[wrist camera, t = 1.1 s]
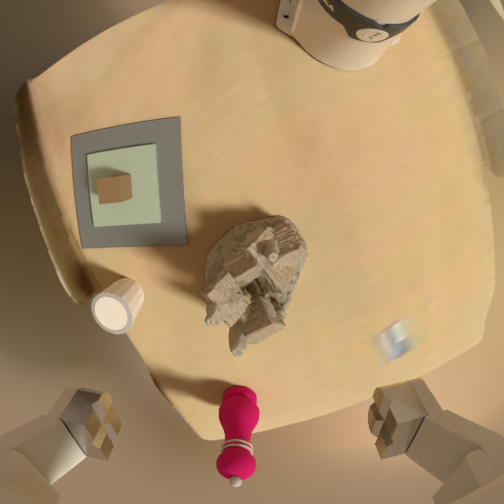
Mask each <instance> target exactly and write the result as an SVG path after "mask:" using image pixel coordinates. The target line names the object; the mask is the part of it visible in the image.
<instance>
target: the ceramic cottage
mask: <svg viewBox="0 0 504 504" xmlns="http://www.w3.org/2000/svg"><path fill="white" fill-rule="evenodd" d="M307 257H308V253H307V249H306V243H305V241H304V240H303V239H302V237H301V236H300V234H299V231H298V230H297V228H296V226H295V225H294V223H293V222H292V221H291V220H289V219H288V218H286V217H283V216H276V217H270V218H265V219H260V220H256V221H255V220H254V221H249V222H245V223H243V224H240V225H237V226H235V227H233V228H232V229H231V230H230V231H229V232H227V234H226V235H225V236H224V237H223V238H221V239H220V240H219V241H218V242H217V243H216V244H215V245H214V247H213V248H212V250H210V252H209V254H208V256H207V258H206V267H205V275H204V277H205V280H206V282H205V284H204V288H203V289H202V290H201V291H199V293H200V294H201V295H202V297H203V298H204V299H205V300H206V301H207V302H208V306H207V308H206V313H207V316H206V318H205V320H204V321H205V322H206V324H207V326H210V325H212V324H213V325H218V324H220V323H221V322H223V321H224V322H225V323H226V324H227V325H228V326H229V327H230V331H229V346H230V350H231V352H232V354H233V355H234V356H237V357H239V356H241V355H242V354H244V353H245V350H246V348H247V343H248V344H249V343H251V344H257V343H259V342H260V341H262V340H264V339H265V338H267V337H268V336H270V335H272V334H274V333H276V332H278V331H280V330H282V329H284V327H285V326H286V325H285V323H284V322H283V321H284V319H285V317H286V313H285V311H286V310H287V308H288V305H289V302H290V300H291V297H292V294H293V291H294V289H295V286H296V285H297V282H298V281H299V276H300V274H301V271H302V268H303V266H304V263H305V261H306V258H307Z"/></svg>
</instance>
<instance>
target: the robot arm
mask: <svg viewBox="0 0 504 504" xmlns="http://www.w3.org/2000/svg"><path fill="white" fill-rule="evenodd" d="M435 1H437V0H280V5H279V10H278V15H277V20H276V26H277V27H278V28H279V29H280V30H281V31H283V32H285V33H286V34H288V35H290V36H292V37H294V38H295V39H296V40H297V41H298V42H299V43H300V45H301V46H302V47H303V48H304V49H305V50H306V51H307V52H308V53H309V54H310V55H312V56H313V57H314V58H316V59H317V60H319V61H321V62H322V63H324V64H327V65H329V66H332V67H335V68H339V69H344V70H360V69H364V68H367V67H369V66H371V65H373V64H375V63H376V62H377V61H378V60H379V59H380V58H381V56H382V55H383V53H384V52H385V51H386V49H388V48H390V47H392V46H394V45H396V44H397V43H398V42H399V40H400V34H401V33H402V32H403V31H404V30H405V29H406V28H408V27H410V26H411V25H412V24H413V23H414V22H415V21H416V20H417V18H418V17H419V14H420V12H422V11H423V10H424V9H426V8H427V7H429V6H430V5H431V4H433V3H434V2H435ZM284 16H288V17H289V18H284ZM373 398H374V401H375V402H374V403H373V404H372V405H371V406H370V408H369V412H368V424H369V428H370V431H371V433H372V434H373V435H375V436H376V437H378V438H377V441H376V443H375V445H376V447H377V450H378V453H379V455H380V458H381V459H385V458H389V457H393V456H397V455H401V454H405V453H406V455H407V456H408V457H409V458H411V459H412V460H413V461H415V462H416V463H417V464H419V465H420V466H421V467H423V468H424V469H425V470H427V471H428V472H429V473H431V474H432V475H433V476H435V477H436V478H437V479H439V480H440V481H442V482H443V483H444V484H443V485H442V486H441V487H440V488H439V489H438V490H437V492H436V493H435V494H434V496H433V499H434V502H435V504H504V438H503V436H502V435H500V434H498V433H496V432H493V431H491V430H489V429H487V428H485V427H482V426H480V425H478V424H476V423H474V422H472V421H470V420H467V419H465V418H463V417H461V416H459V415H457V414H455V413H453V412H451V411H449V410H445V411H443V410H442V408H441V406H440V405H439V404H438V402H437V400H436V399H435V397H434V396H433V394H432V393H431V391H430V390H429V388H428V387H427V385H426V384H425V382H424V381H423V380H422V379H421V378H418V379H413V380H409V381H406V382H401V383H396V384H392V385H387V386H382V387H377V388H376V389H375V391H374V394H373ZM112 402H113V400H112V398H111V396H110V394H108V393H106V392H100V391H95V390H91V389H86V388H80V387H75V386H71V385H70V386H68V387H66V388H65V389H64V391H63V392H62V394H61V395H60V397H59V398H58V400H57V401H56V402H55V404H54V405H53V407H52V408H51V410H50V412H49V413H48V414H47V416H46V415H42V416H40V417H38V418H36V419H34V420H32V421H30V422H28V423H26V424H24V425H22V426H21V427H18V428H16V429H14V430H12V431H10V432H8V433H6V434H4V435H2V436H0V504H58V502H59V500H60V498H61V495H60V493H59V492H58V491H57V490H56V489H55V488H54V487H53V486H52V485H51V484H52V483H54V482H55V481H56V480H58V479H59V478H60V477H61V476H63V475H64V474H65V473H67V472H68V471H69V470H70V469H72V468H73V467H74V466H75V465H77V464H78V463H79V462H80V461H82V460H83V459H84V458H85V457H86V456H90V457H94V458H98V459H103V460H108V458H109V456H110V454H111V451H112V449H113V447H114V445H113V443H112V440H113V439H114V438H116V437H117V436H118V434H119V432H120V427H121V419H120V415H119V413H118V411H117V410H116V409H115V408H114V407H113V406H112V405H111V404H112Z"/></svg>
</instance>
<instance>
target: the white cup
mask: <svg viewBox="0 0 504 504" xmlns="http://www.w3.org/2000/svg"><path fill="white" fill-rule="evenodd" d="M143 300H144V293H143V291H142V288H141V286H140V285H139V284H138V283H137V282H136V281H134V280H132V279H130V278H122V279H119V280H117V281H116V282H114V283H113V284H111V285H110V286H109V287H107V288H106V289H104V290H103V291H102V292H100V293H99V294H98V295H97V296H96V297H95V298H94V299H93V301H92V305H91V308H92V314H93V316H94V318H95V320H96V322H97V323H98V324H99V325H100V326H101V327H102V328H103V329H104V330H106V331H108V332H110V333H114V334H122V333H126V332H127V331H128V330H129V329H130V328H131V326H132V324H133V322H134V320H135V318H136V315H137V313H138V311H139V309H140V307H141V305H142V303H143Z"/></svg>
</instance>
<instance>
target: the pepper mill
mask: <svg viewBox="0 0 504 504" xmlns="http://www.w3.org/2000/svg"><path fill="white" fill-rule="evenodd" d="M256 404H257V398H256V394H255V392H254V391H252V390H251V389H249V388H247V387H243V386H235V387H231V388H229V389H227V390H226V391H225V393H224V395H223V403H222V404H221V406H220V408H219V420H220V423H221V425H222V427H223V429H224V433H225V442H224V443H223V444H222V446H221V448H222V449H221V453H222V454H220V455H219V457H218V458H217V462H216V465H217V469H218V472H219V473H220V474H221V475H222V476H223V477H225V478H227V479H229V483H230V484H231V485H232V486H234V487H237V486H239V485H240V484H241V480H244V479H247V478H249V477H250V476H251V475H253V473H254V472H255V469H256V460H255V458H254V457H253V456H252V454H253V446H252V445H251V444H250V438H251V434H252V431H253V429H254V428H255V426H256V425H257V422H258V420H259V408H258V407H257V405H256Z"/></svg>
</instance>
